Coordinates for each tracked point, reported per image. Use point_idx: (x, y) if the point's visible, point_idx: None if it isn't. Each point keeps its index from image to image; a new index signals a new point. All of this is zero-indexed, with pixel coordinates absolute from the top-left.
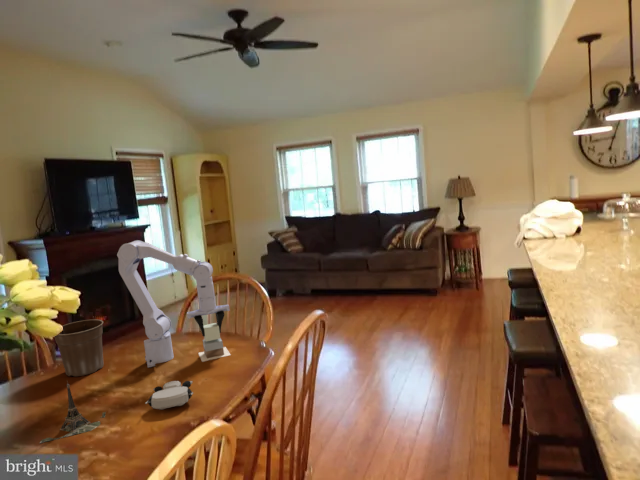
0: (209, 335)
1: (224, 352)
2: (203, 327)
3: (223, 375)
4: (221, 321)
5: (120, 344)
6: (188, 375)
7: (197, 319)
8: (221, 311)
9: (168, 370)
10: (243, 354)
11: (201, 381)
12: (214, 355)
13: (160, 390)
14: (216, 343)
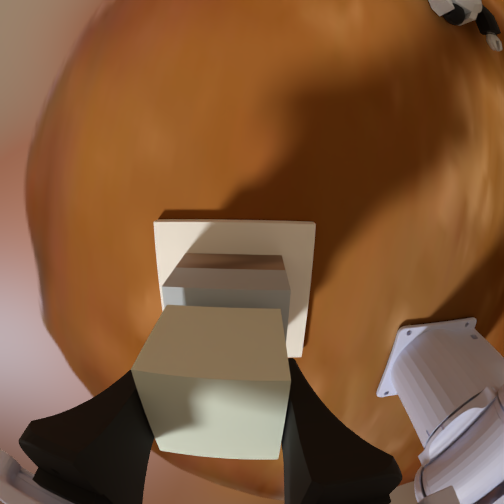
0: (246, 333)
1: None
2: (293, 408)
3: (246, 9)
4: (90, 402)
5: None
6: (396, 117)
7: (387, 478)
8: (50, 486)
9: (446, 246)
10: (101, 218)
11: (348, 14)
12: (238, 255)
13: (482, 5)
14: (207, 284)
